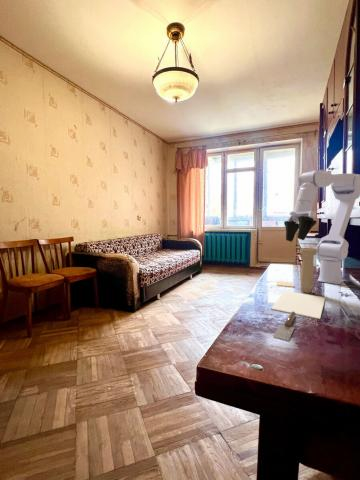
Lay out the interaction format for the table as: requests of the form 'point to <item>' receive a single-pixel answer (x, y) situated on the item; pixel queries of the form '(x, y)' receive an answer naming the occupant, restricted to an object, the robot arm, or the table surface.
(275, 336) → the turner
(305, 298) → the felt mat
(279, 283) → the beige tile
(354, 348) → the table surface
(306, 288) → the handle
